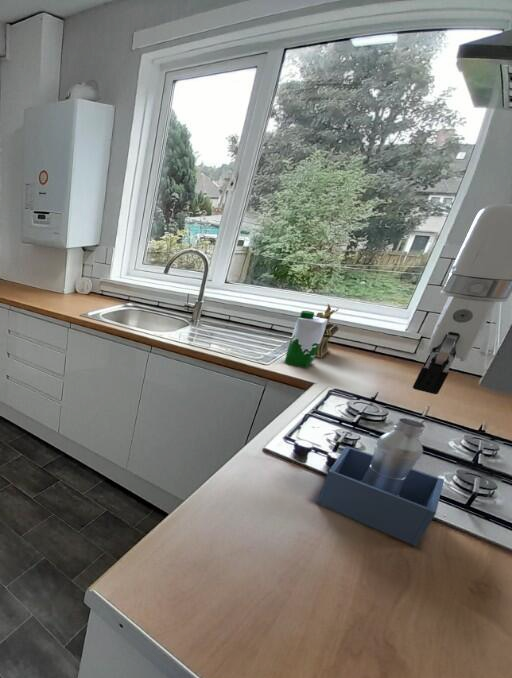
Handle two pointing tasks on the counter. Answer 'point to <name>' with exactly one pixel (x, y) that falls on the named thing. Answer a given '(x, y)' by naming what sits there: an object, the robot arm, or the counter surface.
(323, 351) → the brown figurine
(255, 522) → the counter surface
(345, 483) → the tote
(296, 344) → the milk carton
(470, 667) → the counter surface
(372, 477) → the plastic bottle
